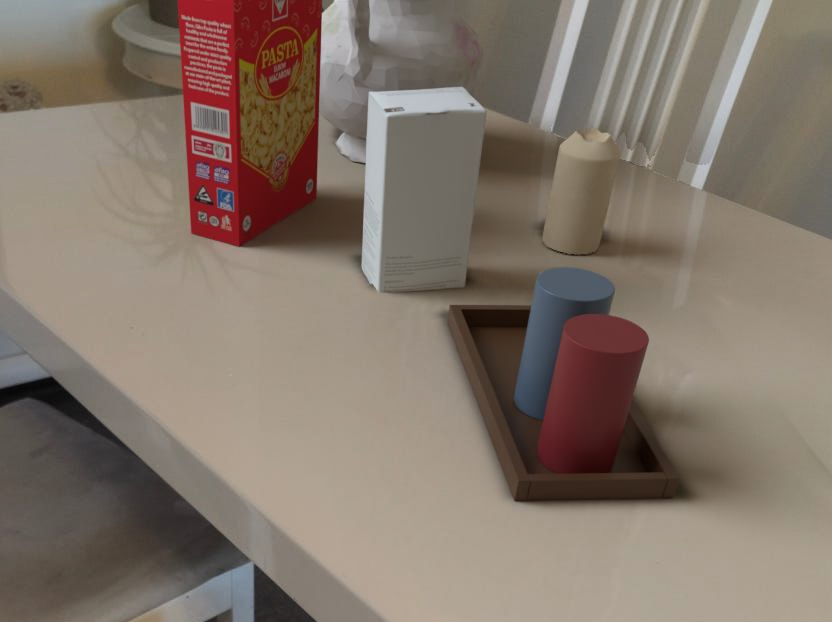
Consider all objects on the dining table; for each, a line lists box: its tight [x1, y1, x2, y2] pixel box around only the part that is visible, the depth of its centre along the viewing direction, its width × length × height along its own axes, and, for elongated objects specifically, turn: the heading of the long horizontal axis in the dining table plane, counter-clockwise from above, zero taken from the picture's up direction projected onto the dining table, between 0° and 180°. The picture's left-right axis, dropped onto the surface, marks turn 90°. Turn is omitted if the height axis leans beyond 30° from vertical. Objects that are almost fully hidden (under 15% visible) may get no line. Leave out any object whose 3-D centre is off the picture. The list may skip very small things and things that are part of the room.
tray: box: [447, 304, 680, 502], centre depth 71 cm, size 11×25×2 cm, turn 6°
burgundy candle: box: [537, 314, 650, 474], centre depth 63 cm, size 5×5×9 cm
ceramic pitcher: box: [319, 0, 484, 164], centre depth 102 cm, size 22×20×25 cm
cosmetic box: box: [361, 87, 488, 293], centre depth 81 cm, size 8×6×15 cm
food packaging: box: [177, 0, 323, 247], centre depth 86 cm, size 15×5×25 cm, turn 153°
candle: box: [542, 127, 621, 256], centre depth 91 cm, size 6×6×10 cm
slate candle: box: [514, 266, 616, 420], centre depth 68 cm, size 5×5×9 cm
